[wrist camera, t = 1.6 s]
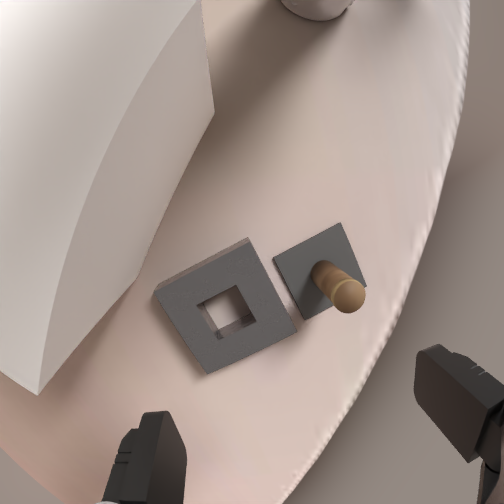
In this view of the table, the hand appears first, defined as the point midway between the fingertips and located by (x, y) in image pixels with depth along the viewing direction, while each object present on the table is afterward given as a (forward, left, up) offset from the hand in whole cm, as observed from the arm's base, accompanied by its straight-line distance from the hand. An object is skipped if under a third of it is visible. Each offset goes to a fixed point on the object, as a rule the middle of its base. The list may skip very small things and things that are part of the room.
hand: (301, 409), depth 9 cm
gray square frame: (+5, +5, -29) cm, 30 cm away
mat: (-7, +7, -29) cm, 30 cm away
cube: (+12, -19, -29) cm, 37 cm away
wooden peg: (-7, +7, -28) cm, 30 cm away
